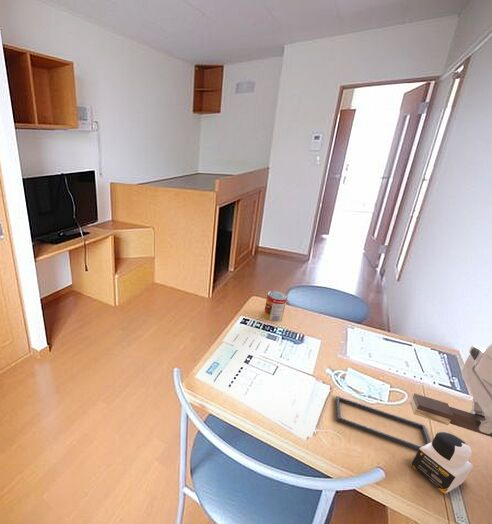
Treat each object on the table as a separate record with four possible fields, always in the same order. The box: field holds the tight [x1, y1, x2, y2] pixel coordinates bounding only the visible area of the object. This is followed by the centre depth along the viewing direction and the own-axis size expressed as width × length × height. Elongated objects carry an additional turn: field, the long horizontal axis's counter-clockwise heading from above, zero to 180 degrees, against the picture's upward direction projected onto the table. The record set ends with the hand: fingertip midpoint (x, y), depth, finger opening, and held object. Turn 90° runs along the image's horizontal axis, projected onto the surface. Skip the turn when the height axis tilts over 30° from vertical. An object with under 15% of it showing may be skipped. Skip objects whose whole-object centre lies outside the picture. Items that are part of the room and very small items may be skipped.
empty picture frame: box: [335, 395, 431, 452], centre depth 86 cm, size 21×9×2 cm, turn 61°
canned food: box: [263, 290, 288, 323], centre depth 136 cm, size 8×8×12 cm
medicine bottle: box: [410, 431, 474, 495], centre depth 72 cm, size 7×7×12 cm
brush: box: [409, 393, 492, 438], centre depth 67 cm, size 16×4×3 cm, turn 62°
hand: (479, 423), depth 66 cm, fingers closed on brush, 2 cm apart
